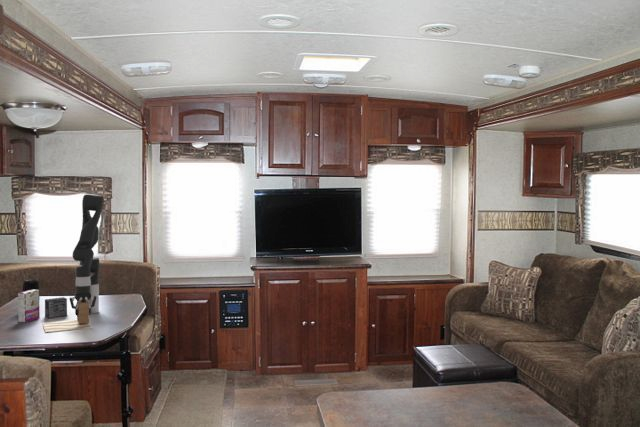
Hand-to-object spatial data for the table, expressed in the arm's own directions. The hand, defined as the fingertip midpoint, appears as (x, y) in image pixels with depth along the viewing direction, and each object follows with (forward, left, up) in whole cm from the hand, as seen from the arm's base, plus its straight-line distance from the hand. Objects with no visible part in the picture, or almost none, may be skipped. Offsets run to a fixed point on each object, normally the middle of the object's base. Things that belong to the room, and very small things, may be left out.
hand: (83, 315), depth 293 cm
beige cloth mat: (0, -8, -5) cm, 10 cm away
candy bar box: (-24, -25, -5) cm, 35 cm away
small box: (-27, -11, -5) cm, 30 cm away
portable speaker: (-47, -23, -5) cm, 53 cm away
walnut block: (0, 0, -3) cm, 3 cm away
